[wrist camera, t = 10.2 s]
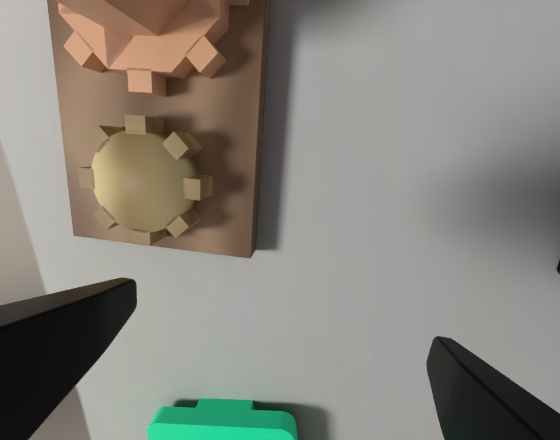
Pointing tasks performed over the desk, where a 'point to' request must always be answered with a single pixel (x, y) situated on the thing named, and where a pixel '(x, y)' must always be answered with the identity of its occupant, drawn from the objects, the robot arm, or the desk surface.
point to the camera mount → (221, 422)
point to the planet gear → (147, 38)
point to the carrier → (168, 145)
